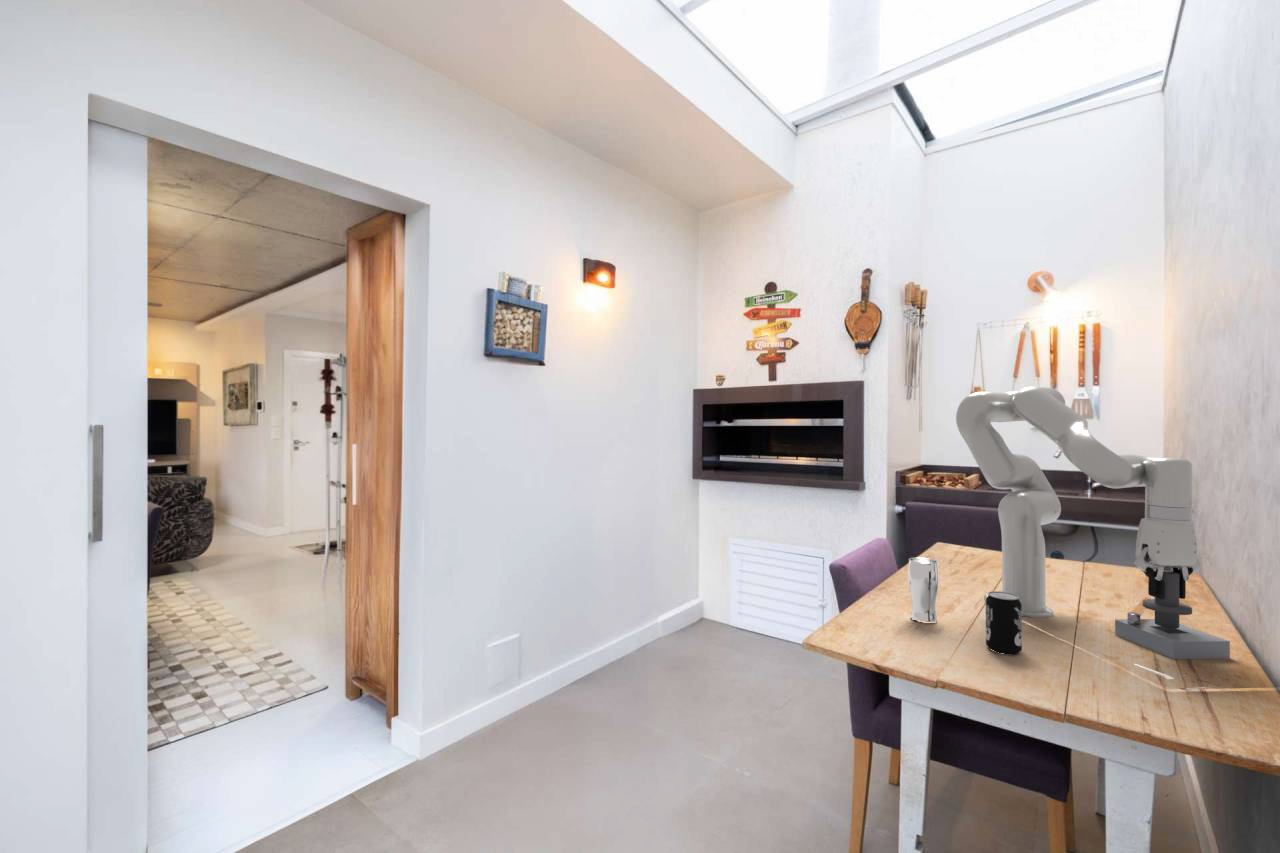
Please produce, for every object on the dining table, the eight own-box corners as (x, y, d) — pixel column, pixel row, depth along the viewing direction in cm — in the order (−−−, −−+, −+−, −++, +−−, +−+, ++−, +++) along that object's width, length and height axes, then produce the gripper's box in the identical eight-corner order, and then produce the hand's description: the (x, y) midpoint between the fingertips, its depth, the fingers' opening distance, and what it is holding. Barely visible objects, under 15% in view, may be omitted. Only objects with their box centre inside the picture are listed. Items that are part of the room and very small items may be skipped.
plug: (1166, 631, 121) (1166, 577, 121) (1132, 619, 129) (1132, 568, 129) (1203, 631, 121) (1203, 577, 122) (1167, 619, 129) (1167, 568, 130)
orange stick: (1139, 626, 127) (1139, 616, 127) (1126, 623, 128) (1126, 613, 128) (1154, 607, 140) (1154, 598, 140) (1142, 605, 141) (1142, 596, 141)
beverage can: (1010, 658, 120) (1010, 600, 120) (979, 647, 125) (979, 593, 125) (1028, 652, 123) (1028, 596, 123) (997, 642, 128) (997, 589, 128)
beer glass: (909, 622, 142) (908, 562, 142) (907, 614, 148) (907, 556, 148) (940, 626, 139) (940, 564, 139) (937, 617, 146) (937, 558, 146)
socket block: (1173, 661, 118) (1173, 641, 118) (1115, 636, 132) (1115, 619, 132) (1229, 660, 118) (1229, 641, 118) (1165, 636, 132) (1165, 618, 132)
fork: (1109, 656, 123) (1108, 647, 123) (1213, 697, 103) (1213, 686, 103) (1095, 657, 122) (1095, 648, 122) (1198, 698, 102) (1197, 687, 102)
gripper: (1187, 511, 129) (1186, 591, 129) (1115, 511, 129) (1114, 592, 129) (1222, 516, 122) (1221, 602, 122) (1146, 516, 121) (1145, 602, 121)
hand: (1166, 596), depth 125 cm, fingers closed on plug, 4 cm apart
